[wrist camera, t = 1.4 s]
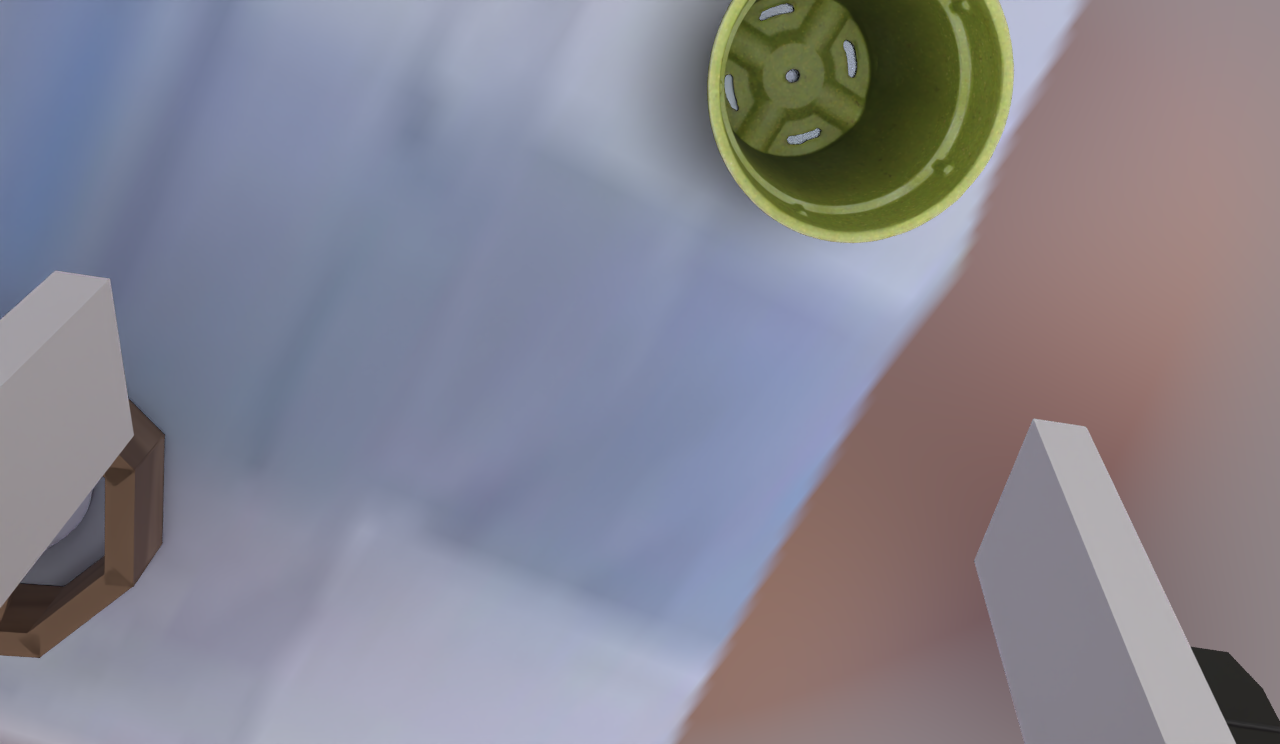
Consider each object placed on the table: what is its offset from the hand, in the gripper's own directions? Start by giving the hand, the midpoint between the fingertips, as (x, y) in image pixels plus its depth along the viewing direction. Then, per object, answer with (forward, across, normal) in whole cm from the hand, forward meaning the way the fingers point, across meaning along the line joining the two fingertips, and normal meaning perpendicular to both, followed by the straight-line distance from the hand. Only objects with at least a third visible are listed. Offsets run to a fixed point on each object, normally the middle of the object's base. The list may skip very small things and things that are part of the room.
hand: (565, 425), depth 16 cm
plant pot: (+28, +5, -3) cm, 28 cm away
